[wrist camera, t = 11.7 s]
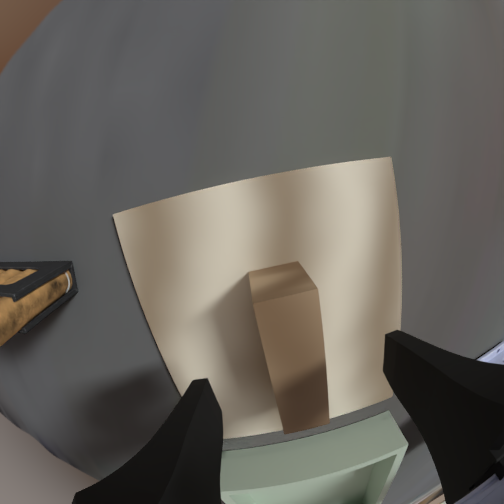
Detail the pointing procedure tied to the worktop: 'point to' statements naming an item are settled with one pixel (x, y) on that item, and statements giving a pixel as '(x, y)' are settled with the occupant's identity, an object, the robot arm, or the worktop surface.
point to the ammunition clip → (32, 293)
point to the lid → (274, 291)
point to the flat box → (318, 467)
